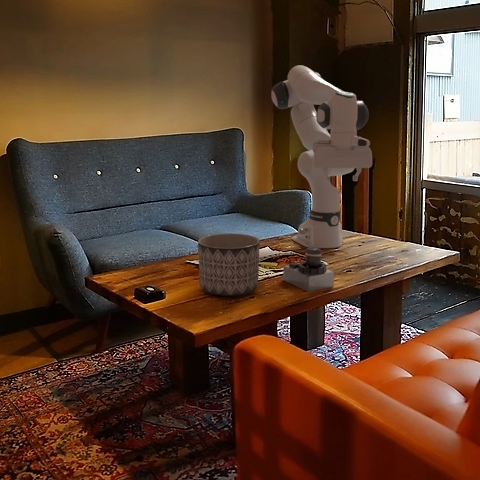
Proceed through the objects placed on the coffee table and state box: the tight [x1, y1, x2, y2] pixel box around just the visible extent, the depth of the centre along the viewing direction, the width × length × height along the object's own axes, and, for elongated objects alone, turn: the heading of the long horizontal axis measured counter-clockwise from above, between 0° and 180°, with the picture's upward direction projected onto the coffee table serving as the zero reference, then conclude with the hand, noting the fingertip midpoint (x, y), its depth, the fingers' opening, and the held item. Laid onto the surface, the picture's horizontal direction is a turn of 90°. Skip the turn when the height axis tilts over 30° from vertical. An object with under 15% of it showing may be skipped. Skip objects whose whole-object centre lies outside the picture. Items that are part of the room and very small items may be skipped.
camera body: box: [282, 261, 335, 293], centre depth 204 cm, size 14×10×7 cm
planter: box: [197, 232, 261, 297], centre depth 195 cm, size 19×19×16 cm
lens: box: [304, 247, 322, 268], centre depth 200 cm, size 5×5×7 cm
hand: (341, 180), depth 216 cm, fingers open, 8 cm apart
